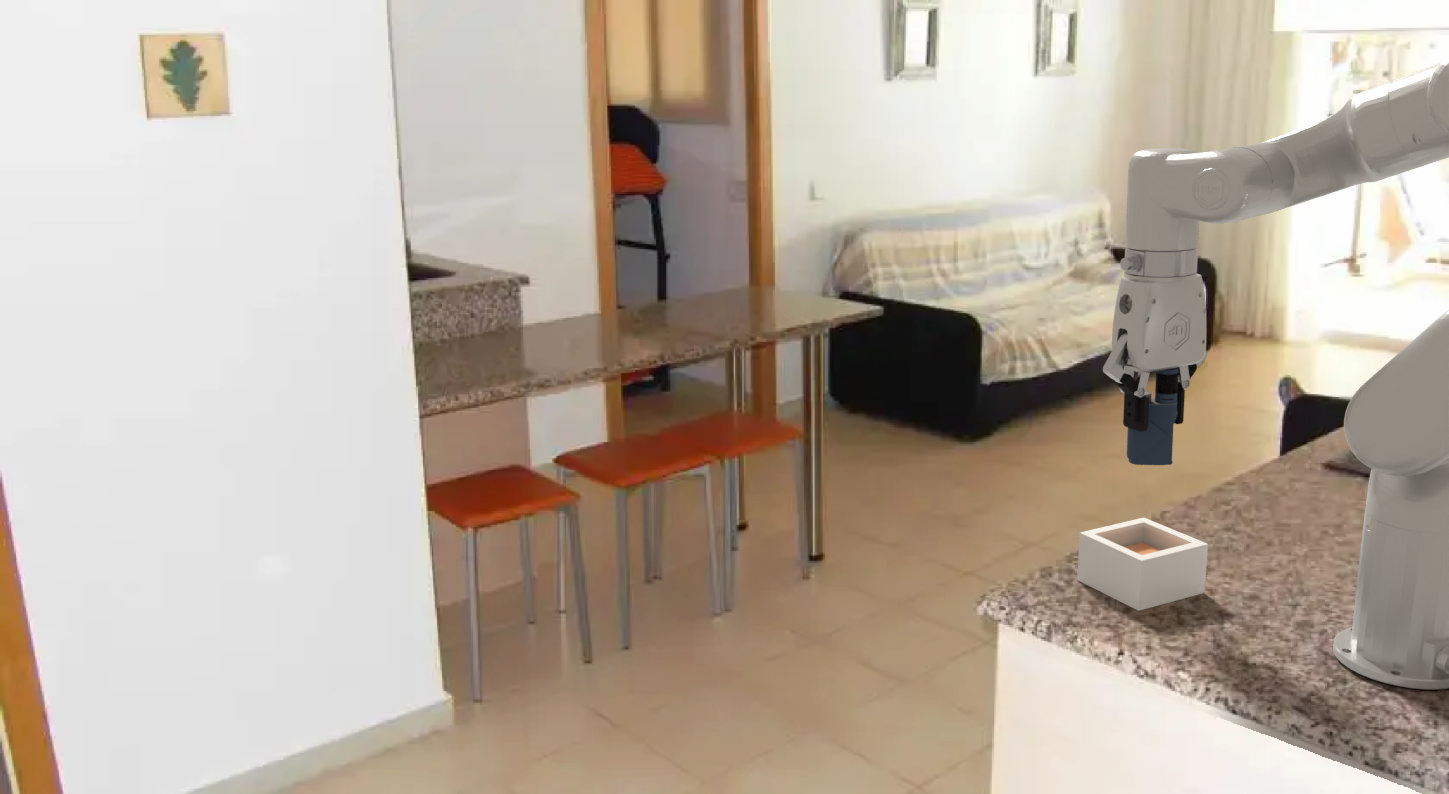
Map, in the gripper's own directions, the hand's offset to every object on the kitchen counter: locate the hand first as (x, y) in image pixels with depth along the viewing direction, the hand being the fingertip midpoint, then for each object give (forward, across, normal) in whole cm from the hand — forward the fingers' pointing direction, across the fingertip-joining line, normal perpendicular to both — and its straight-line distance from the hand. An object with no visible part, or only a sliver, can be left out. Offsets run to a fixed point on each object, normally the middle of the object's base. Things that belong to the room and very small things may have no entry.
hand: (1153, 423), depth 142 cm
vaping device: (+5, 0, 0) cm, 5 cm away
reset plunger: (+19, 0, +1) cm, 19 cm away
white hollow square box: (+20, 0, +1) cm, 20 cm away
